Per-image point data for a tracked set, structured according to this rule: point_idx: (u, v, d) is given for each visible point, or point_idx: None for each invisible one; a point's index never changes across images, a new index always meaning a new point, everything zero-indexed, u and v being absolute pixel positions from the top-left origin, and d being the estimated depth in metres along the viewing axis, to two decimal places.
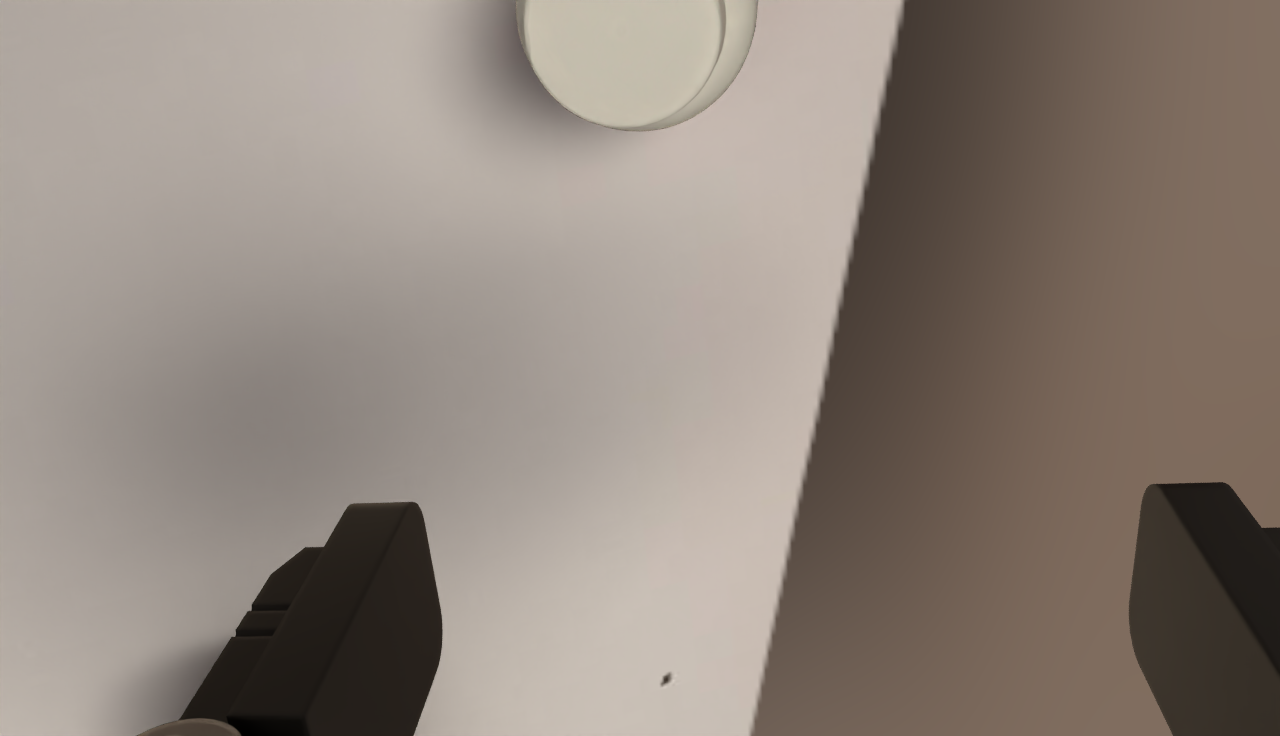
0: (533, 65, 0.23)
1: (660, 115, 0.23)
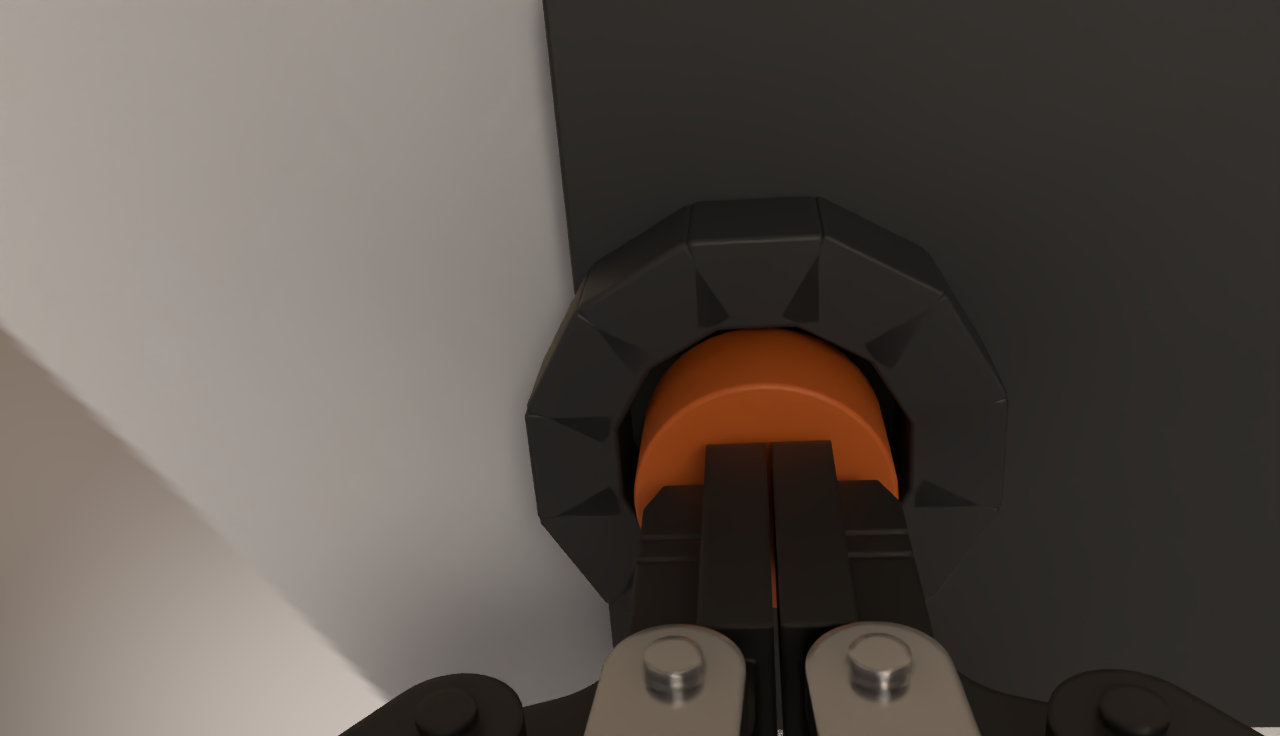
0: None
1: None
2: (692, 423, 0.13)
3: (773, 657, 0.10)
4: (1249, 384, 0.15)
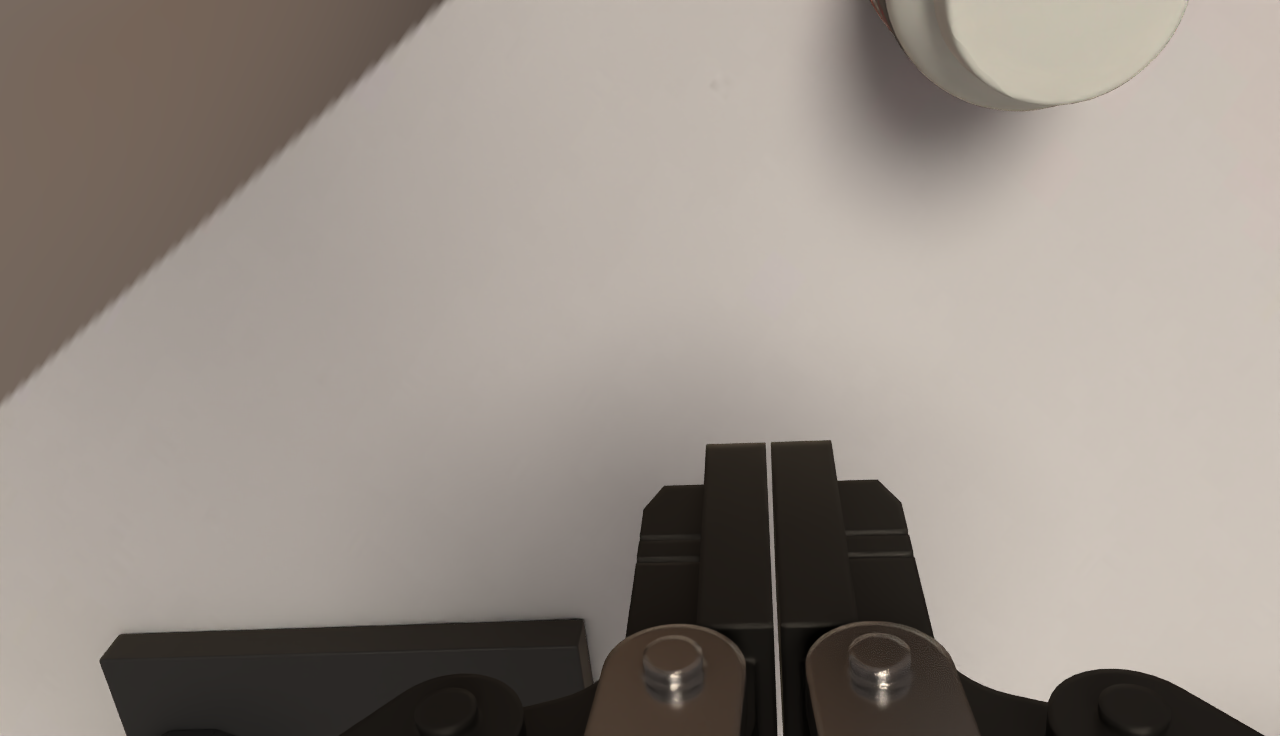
0: (1009, 94, 0.19)
1: (1172, 24, 0.19)
2: None
3: (773, 657, 0.10)
4: None
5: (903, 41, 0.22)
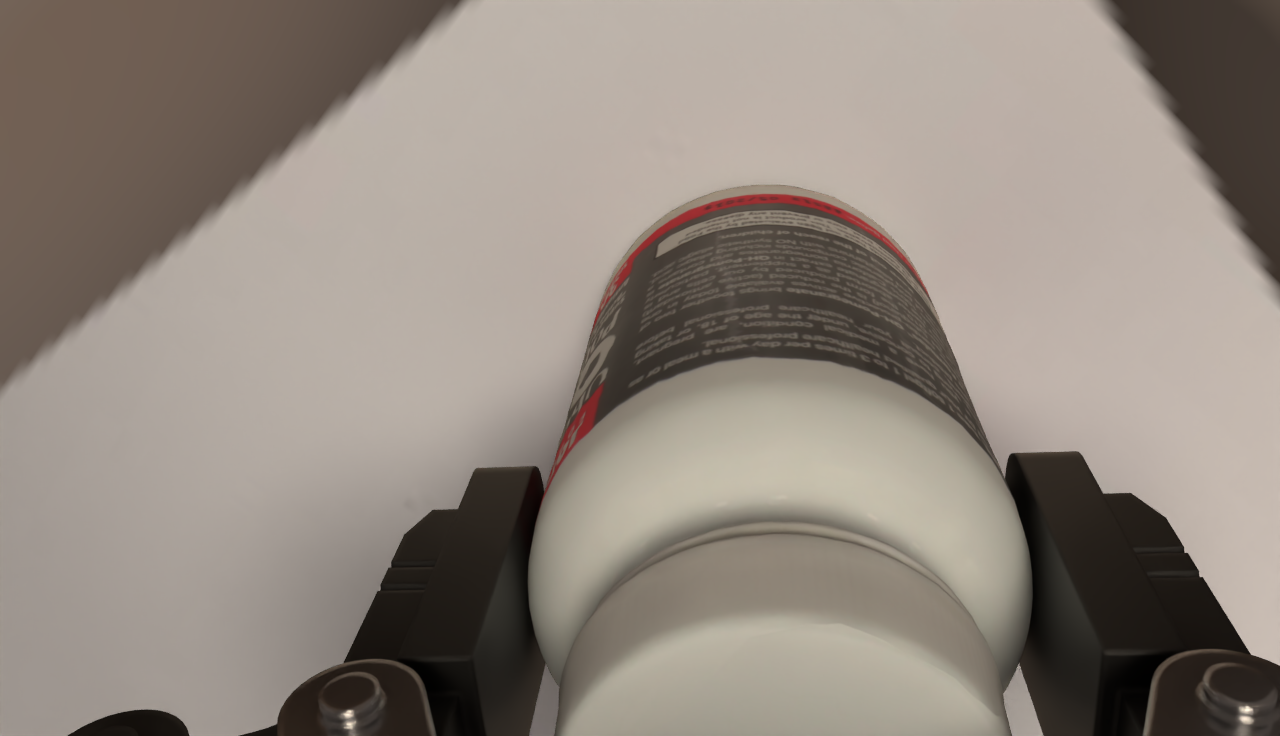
0: None
1: None
2: None
3: (476, 690, 0.10)
4: None
5: None
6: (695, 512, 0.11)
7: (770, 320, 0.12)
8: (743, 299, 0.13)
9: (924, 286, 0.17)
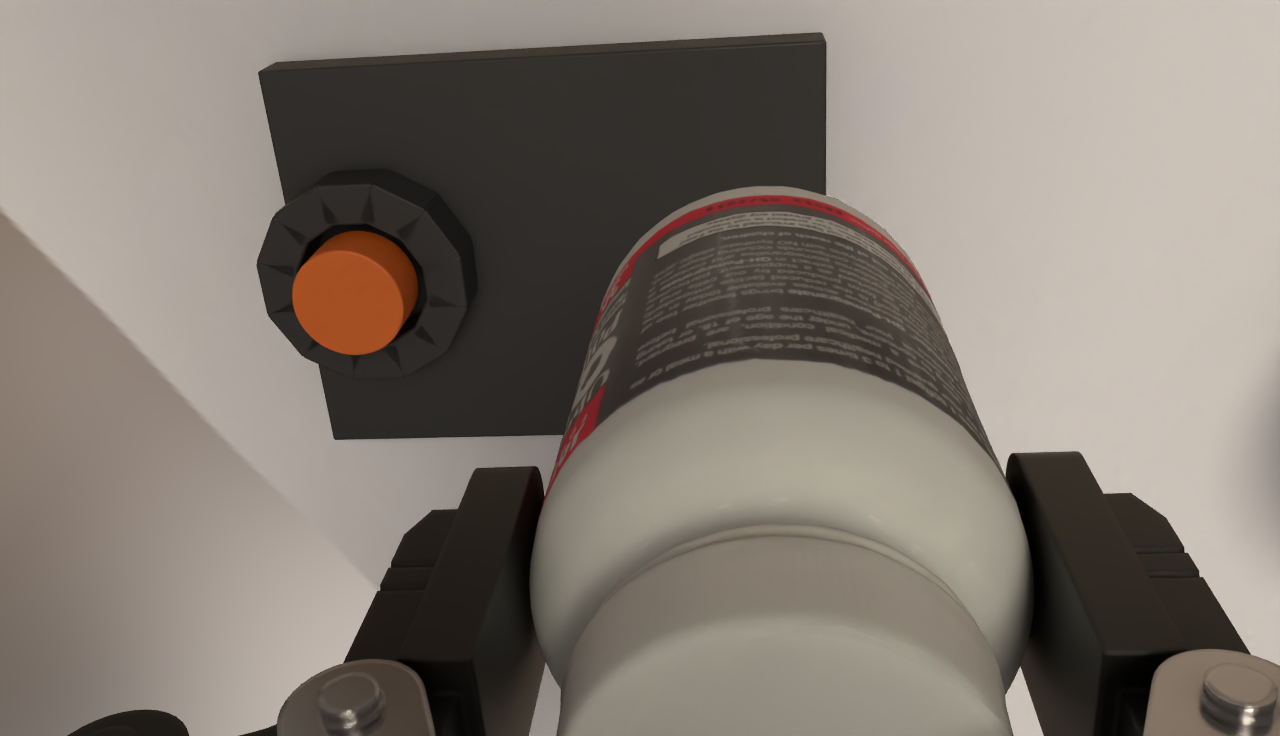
0: None
1: None
2: (311, 268, 0.32)
3: (476, 690, 0.10)
4: (591, 256, 0.34)
5: None
6: (697, 513, 0.11)
7: (772, 322, 0.12)
8: (744, 301, 0.13)
9: (925, 287, 0.17)
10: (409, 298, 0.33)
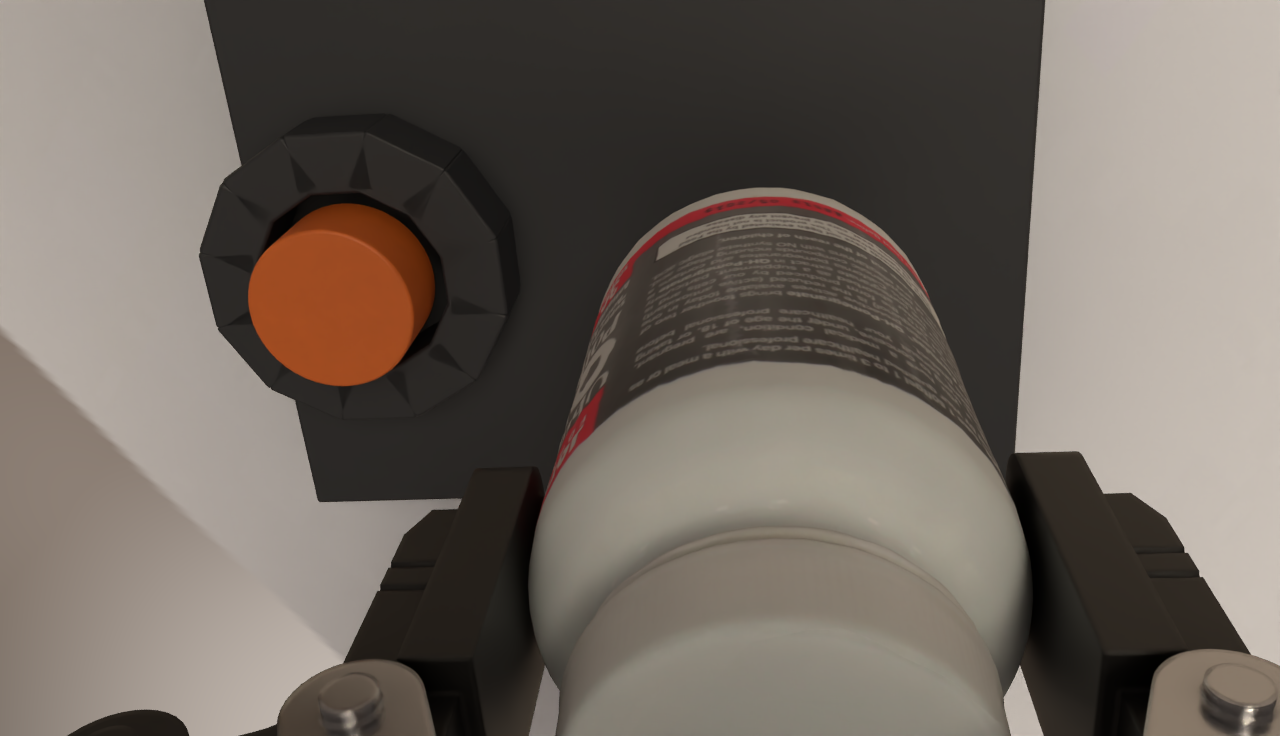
0: None
1: None
2: (276, 257, 0.21)
3: (476, 689, 0.10)
4: None
5: None
6: (696, 515, 0.11)
7: (770, 324, 0.12)
8: (743, 303, 0.13)
9: (924, 289, 0.17)
10: (422, 301, 0.22)
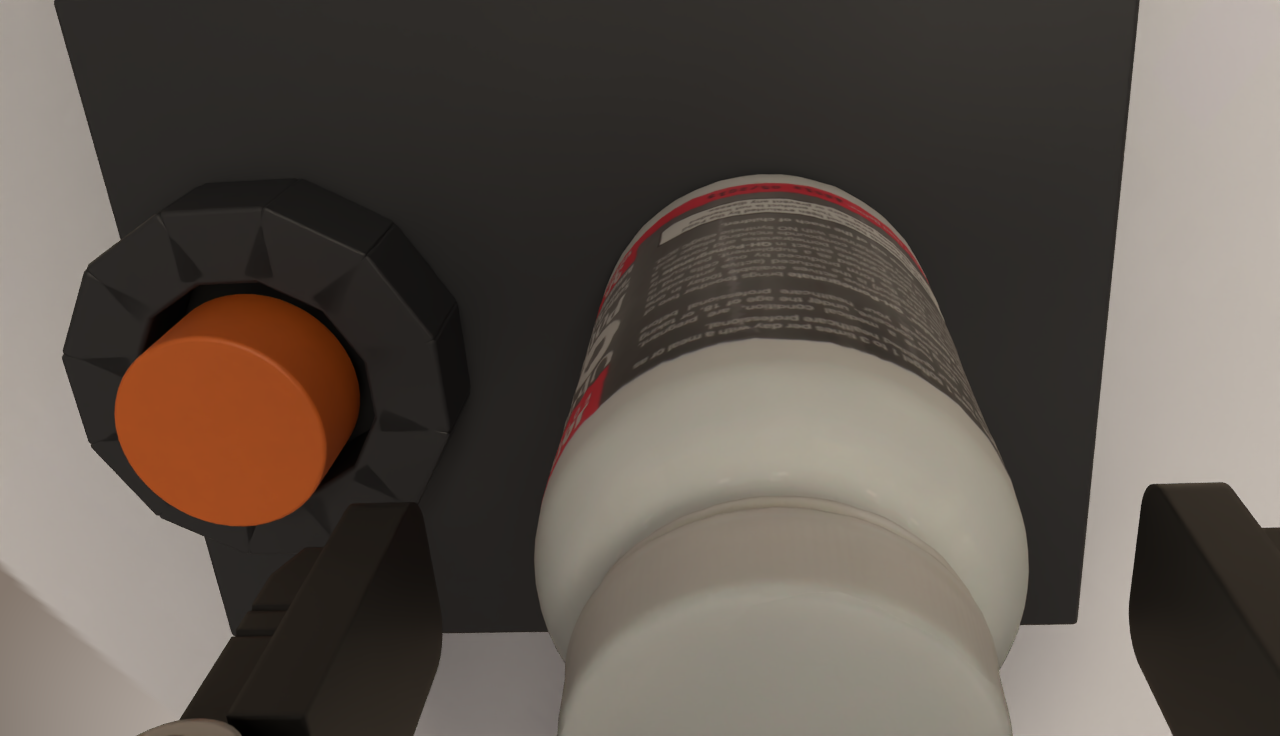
0: None
1: None
2: (147, 370, 0.16)
3: None
4: None
5: None
6: (698, 487, 0.11)
7: (772, 303, 0.12)
8: (745, 283, 0.13)
9: (924, 274, 0.17)
10: (339, 420, 0.17)
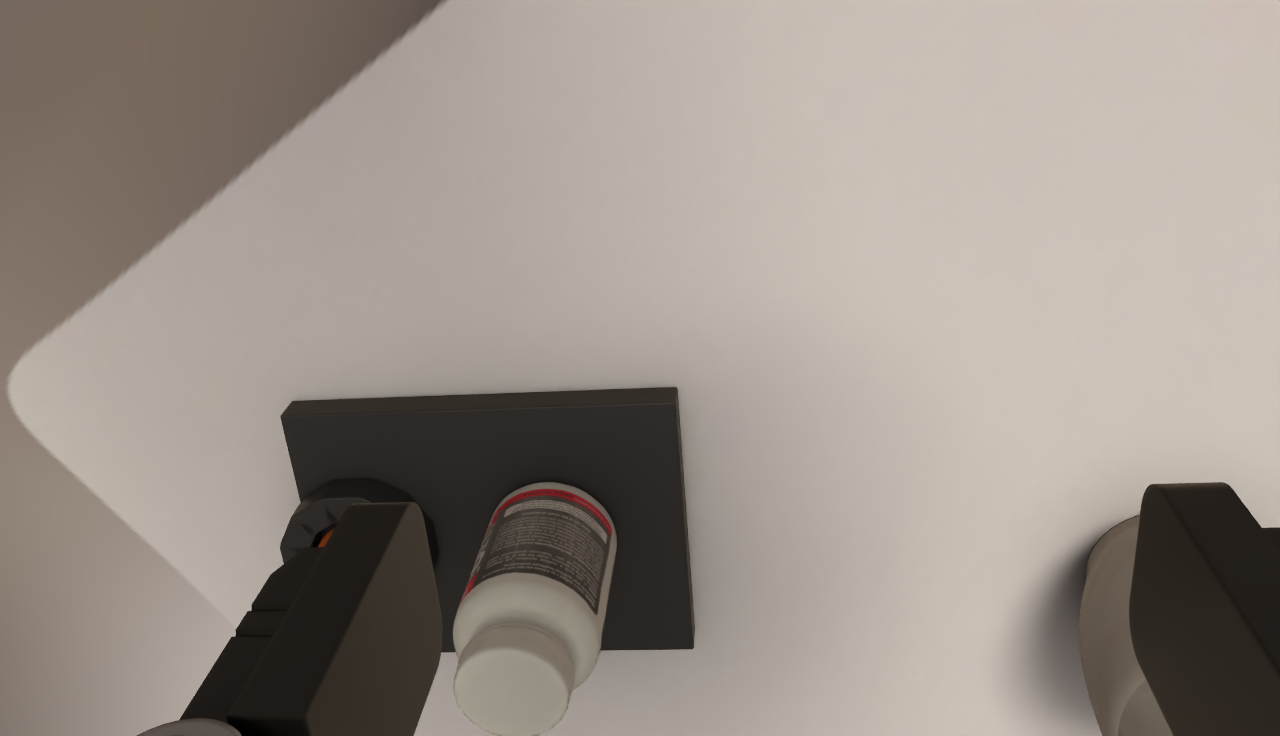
0: (491, 732, 0.39)
1: (562, 711, 0.39)
2: None
3: None
4: None
5: None
6: (495, 617, 0.40)
7: (525, 557, 0.41)
8: (520, 547, 0.42)
9: (607, 519, 0.46)
10: None
